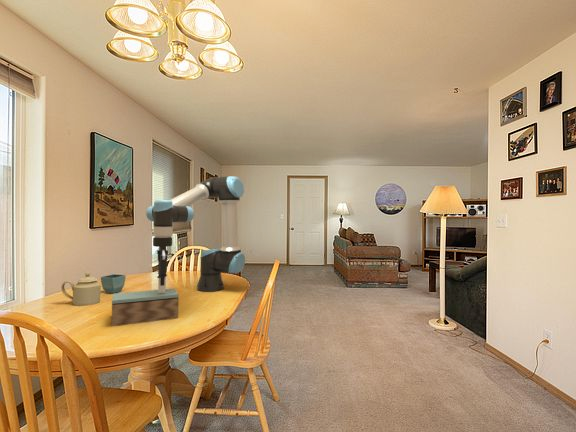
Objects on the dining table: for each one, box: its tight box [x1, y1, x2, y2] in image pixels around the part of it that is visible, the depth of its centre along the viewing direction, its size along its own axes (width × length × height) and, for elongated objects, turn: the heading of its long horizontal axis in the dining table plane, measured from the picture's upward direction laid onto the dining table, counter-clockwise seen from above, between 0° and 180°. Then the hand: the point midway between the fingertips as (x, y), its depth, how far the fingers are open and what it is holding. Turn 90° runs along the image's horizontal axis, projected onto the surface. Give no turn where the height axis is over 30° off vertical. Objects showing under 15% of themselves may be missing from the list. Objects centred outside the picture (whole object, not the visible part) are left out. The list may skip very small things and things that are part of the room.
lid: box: [111, 287, 179, 305], centre depth 128 cm, size 24×14×1 cm, turn 117°
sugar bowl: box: [61, 270, 102, 307], centre depth 146 cm, size 15×11×15 cm
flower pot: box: [100, 274, 127, 295], centre depth 167 cm, size 9×9×9 cm
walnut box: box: [111, 297, 179, 327], centre depth 128 cm, size 24×14×8 cm, turn 117°
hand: (161, 292), depth 129 cm, fingers closed
